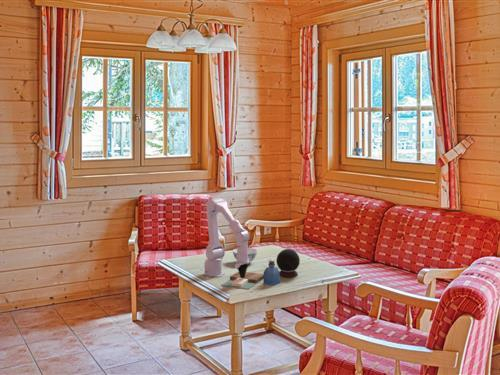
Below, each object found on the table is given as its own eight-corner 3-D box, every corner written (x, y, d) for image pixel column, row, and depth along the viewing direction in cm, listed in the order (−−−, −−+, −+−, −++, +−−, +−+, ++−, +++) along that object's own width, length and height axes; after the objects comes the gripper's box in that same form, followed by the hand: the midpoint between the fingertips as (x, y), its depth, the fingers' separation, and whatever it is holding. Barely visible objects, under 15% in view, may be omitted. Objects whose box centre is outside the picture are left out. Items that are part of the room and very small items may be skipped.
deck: (229, 280, 306) (229, 276, 306) (239, 274, 317) (239, 271, 316) (256, 283, 300) (256, 280, 299) (265, 277, 310) (265, 274, 310)
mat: (221, 285, 296) (221, 284, 296) (229, 280, 305) (229, 279, 305) (248, 289, 290) (248, 288, 289) (256, 283, 299) (256, 283, 299)
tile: (231, 285, 295) (231, 282, 295) (238, 280, 303) (238, 278, 303) (241, 286, 293) (241, 283, 293) (248, 282, 301) (248, 279, 301)
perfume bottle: (272, 285, 296) (272, 263, 295) (263, 283, 300) (263, 261, 299) (279, 283, 301) (279, 261, 299) (270, 280, 305) (270, 259, 303)
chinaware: (228, 264, 338) (228, 251, 337) (240, 258, 351) (240, 246, 350) (250, 267, 331) (250, 254, 330) (261, 261, 344) (261, 249, 343)
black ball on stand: (302, 277, 310) (302, 251, 308) (279, 279, 308) (279, 252, 306) (296, 271, 323) (296, 246, 321) (274, 272, 321) (274, 247, 319)
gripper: (243, 257, 291) (243, 282, 293) (254, 250, 305) (254, 274, 306) (231, 255, 294) (231, 280, 296) (242, 249, 307) (242, 273, 309)
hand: (242, 277), depth 301 cm, fingers closed
